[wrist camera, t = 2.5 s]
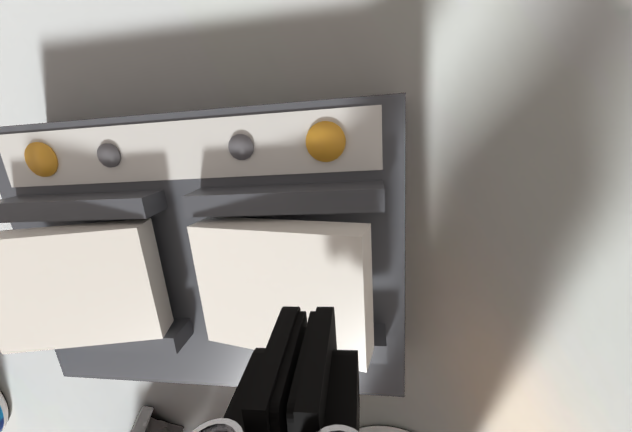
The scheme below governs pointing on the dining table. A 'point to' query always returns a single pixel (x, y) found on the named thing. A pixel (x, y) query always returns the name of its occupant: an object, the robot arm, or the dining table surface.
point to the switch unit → (220, 209)
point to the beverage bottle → (3, 412)
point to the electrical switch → (152, 423)
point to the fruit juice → (381, 429)
